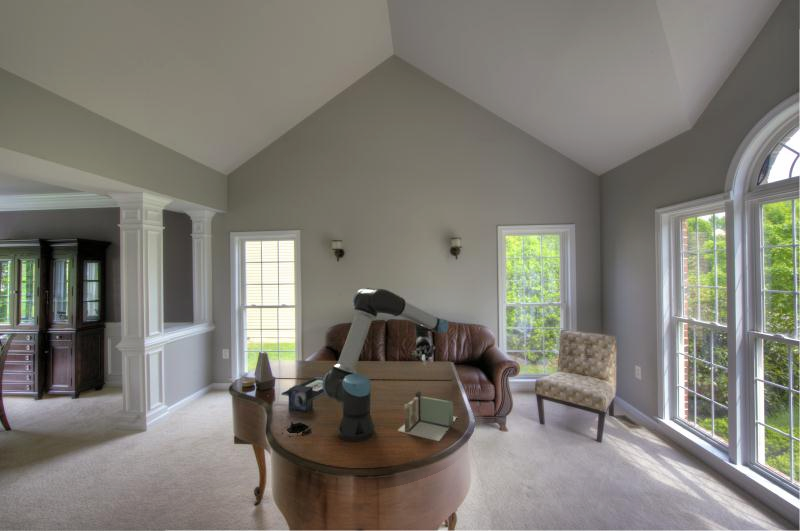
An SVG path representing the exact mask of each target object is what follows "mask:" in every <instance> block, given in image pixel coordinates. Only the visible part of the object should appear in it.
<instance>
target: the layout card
mask: <svg viewBox="0 0 800 531" xmlns="http://www.w3.org/2000/svg"><path fill="white" fill-rule="evenodd" d="M420 416H421V415H420ZM456 418H458V416H455V415H453V422H454V423H455V422H456V420H457V419H456ZM450 428H451V427H450V426H449V425H445V424H440V423H435V422H430V421H425V420H420V421H417V422H416V423H415V424H414V425H413V426H412V427H411V428H410V429H409V432H405V423H404V424H403V425H402V426H400V427H399V428H398V429H397V432H399V433H403V434H407V435H411V436H416V437H419V438H424V439H427V440H432V441H436V442H440V441H441V440H442V438H443V437H444V436H445V435H446V433H447V432H446V431H448V430H450Z"/></svg>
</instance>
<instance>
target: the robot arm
mask: <svg viewBox="0 0 800 531" xmlns="http://www.w3.org/2000/svg"><path fill="white" fill-rule="evenodd" d="M353 306H354V308H353V312H354V314H355V315H354V318H353V321H352V323H351V325H350V328H349V332H348V334H347V337H346V340H345V343H344V345H343V347H342V349H341V353H340V355H339V358H338V361H337V363H336V364H334V365H333V366H332V368H331V370H329V371H328V372H327V373H325V375H324V377H323V378H324V379H323V383H322V386H323V390H324V392H325V393H324V394H325V395H326V396H327V397H329V398H330V399H333V400H335V401H337V402H338V403H340V404H342V418H341V421H340V424H339V426H338V436H339V438H340V439H342V440H344V441H347V442H363V441H366V440H369V439H370V438H371V437H373V436H374V435H375V424H374V421H373V418H372V415H371V391H372V390H371V383H370V382H371V381H370V379H369V378H368V377H367V376H366V375H364V374H360V373H357V371H356V366H357V364H358V361H359V358H360V355H361V353H362V349H363V347H364V344H365V340H366V339H367V335H368V334H369V333H368V332H369V329H370V327H371V324H372V321H373V320H376V319H377V316H378V314H385V315H391V316H392V317H393V316H394V317H401V318H403V319H406V320H408V321H409V322H412V323H413V324H414V331H415V332H414V334H415V341H416V345H415V346H416V347H415V348H416V349H415V350H411V354H412V356H413V357H414V358H415V359H416V360H417V361H420V362H421V363H422V364H423V366H426V365H427V361H428V360H429V358H432V357H433V354H434V352H435V351H436V346H435V344H432V345H431V342H430V335H429V332H433V333H438V334H445V333H447V332H448V331H449V327H450V326H449V325H450V324H449V322H448V320H447V319H444V318H440V317H436V316H434V315H433V314H430V313H429V312H426V311H425V310H423V309H421V308H419V307H417V306H415V305H413V304H410V303H409V302H407V301H406V300H405V299H404V297H402V296H400V295H398V294H396V293H394V292H392V291H390V290H387V289H385V288H373V287H372V288H371V287H365V288H361V289H359V290H358V291H356V293H355V294H354V296H353Z"/></svg>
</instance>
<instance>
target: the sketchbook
mask: <svg viewBox="0 0 800 531" xmlns="http://www.w3.org/2000/svg"><path fill="white" fill-rule="evenodd" d="M323 379H324V377H318V376H315V377H314V378H311V379H308V380H307V381H305V382H302V383H300V384H298V385H299V386H307V387H313V400H315V399H316V398H319V397H321V396H322V395H324V394H325V392H324V390H323V386H322V383H323ZM281 395H282V396H283V395H284V396H288V397H289V389H287V390H285V391H283V392H281Z"/></svg>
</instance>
